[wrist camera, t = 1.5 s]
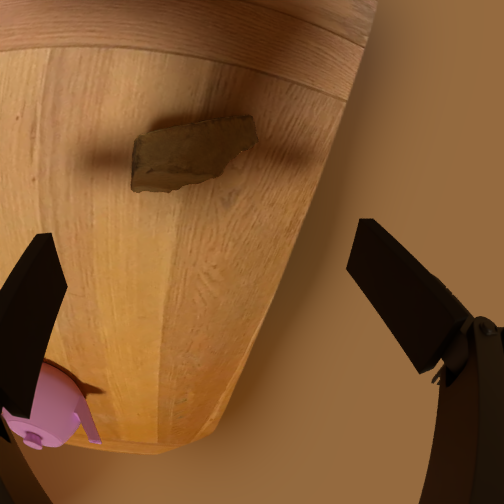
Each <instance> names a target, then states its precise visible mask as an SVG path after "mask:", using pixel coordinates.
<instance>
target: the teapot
mask: <svg viewBox="0 0 504 504" xmlns="http://www.w3.org/2000/svg"><path fill="white" fill-rule="evenodd" d="M2 412H3V414H1V415H2V416H3V417H4V418H5V420H6V422H7V424H8V426H9V427H10V429H11V430H13V431H14V432H15V433H16V434H18V435H19V436H21V437H23V438H24V440H23V442H24V443H25V444H26V445H28V446H29V447H32V448H34V449H42V445H44V446H49V447H58V446H61V445H62V444H64V443H65V442H66V441H67V440H68V439H69V438H70V437H71V436H72V435H73V434H74V433H75V431H76V430H77V429H78V427H79V425H80V424H81V423H82V426H83V428H84V430H85V432H86V434H87V436H88V440H89V441H90V443H97V444H102V442H101V439H100V437H99V434H98V432H97V429H96V427H95V424H94V421H93V418H92V416H91V413H90V410H89V407H88V405H87V402H86V400H85V398H84V396H83V395H82V393H81V391H80V390H79V388H78V387H77V385H76V384H75V383H74V381H73V380H72V379H71V378H70V377H69V376H67V375H66V374H65V373H63V372H62V371H60V370H59V369H57V368H55V367H53V366H51V365H49V364H47V363H44V362H43V363H42V366H41V370H40V374H39V378H38V382H37V386H36V391H35V395H34V400H33V405H32V410H31V415H30V419H25V418H20V417H15V416H12V415H11V414H10V413H9V412H8V411H7V410H6V409H5V408H4V407H3V409H2Z"/></svg>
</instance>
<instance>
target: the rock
mask: <svg viewBox="0 0 504 504" xmlns="http://www.w3.org/2000/svg"><path fill="white" fill-rule="evenodd" d="M257 142H258V137H257V134H256V129H255V124H254V120H253V117H252V116H251V115H245V116H234V117H228V118H218V119H212V120H206V121H201V122H198V123H190V124H186V125H182V126H174V127H170V128H166V129H161V130H156V131H153V132H149V133H146V134H143V135H139V136H138V137H137V138H136V139H135V141H134V148H133V153H132V173H131V190H132V191H133V192H136V193H140V192H142V191H149V192H166V193H170V192H171V191H172V190H178V189H180V188H181V187H182V186H185V185H188V184H198V183H201V182H203V181H206V180H208V179H210V178H216V177H219V176H220V175H222V173H223V170H224V168H225V166H226V165H227V163H228V162H229V161H230V160H231V159H233V158H235V157H236V156H237V155H238V154H239V153H241V151H244V150H248V149H250V148H252V147H253V146H254V145H255V144H256V143H257Z"/></svg>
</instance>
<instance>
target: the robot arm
mask: <svg viewBox="0 0 504 504" xmlns="http://www.w3.org/2000/svg"><path fill="white" fill-rule="evenodd" d="M346 270H347V271H348V272H349V274H350V275H351V276H352V278H353V279H354V280H355V282H356V283H357V284H358V286H359V287H360V289H361V290H362V291H363V293H364V294H365V295H366V297H367V298H368V300H369V301H370V302H371V304H372V305H373V307H374V308H375V309H376V311H377V312H378V314H379V315H380V316H381V318H382V319H383V321H384V322H385V324H386V325H387V327H388V328H389V329H390V331H391V332H392V334H393V335H394V337H395V338H396V339H397V341H398V342H399V344H400V346H401V347H402V349H403V350H404V352H405V353H406V355H407V356H408V357H409V359H410V361H411V362H412V363H413V365H414V367H415V368H416V370H417V371H418V373H419V374H421V373H424V372H426V371H429V370H431V369H433V368H434V367H435V366H436V364H437V363H438V361H439V360H440V359H441V358H442V360H443V361H444V365H443V366H442V367H441V368H440V370H439V371H438V372H437V374H436V375H435V376H434V377H433V379H432V383H434V382H435V381H436V380H437V378H438V377H440V380H439V382H438V383H437V385H440V387H439V399H438V409H437V417H436V425H435V431H434V438H433V444H432V449H431V455H430V460H429V465H428V469H427V474H426V478H425V482H424V486H423V490H422V494H421V498H420V501H419V504H504V327H497V326H496V325H495V324H494V323H493V322H492V321H491V320H489V319H487V318H486V317H482V316H479V317H476V318H474V317H473V316H472V315H471V314H470V313H469V311H468V310H467V309H466V308H465V307H464V306H463V305H462V303H461V302H460V301H459V300H458V299H457V298H456V297H455V296H454V295H452V292H451V291H450V290H449V289H448V288H446V286H445V285H444V284H443V283H442V282H441V281H440V280H439V279H438V278H437V277H435V276H434V275H432V274H431V273H430V272H429V271H428V270H427V269H426V268H425V267H424V266H423V265H422V264H421V263H420V262H418V260H417V259H416V258H414V256H412V254H410V253H409V252H408V251H407V250H406V249H405V248H404V247H403V246H402V245H401V244H400V243H399V242H398V241H397V240H396V239H395V238H394V237H393V236H392V235H391V234H389V233H388V232H387V231H386V230H385V229H384V228H383V227H382V226H381V225H380V224H378V223H377V222H376V221H375V220H374V219H359V223H358V227H357V231H356V234H355V239H354V242H353V246H352V249H351V253H350V257H349V260H348V264H347V267H346ZM67 287H68V286H67V283H66V280H65V277H64V274H63V271H62V268H61V265H60V261H59V258H58V255H57V251H56V248H55V244H54V240H53V237H52V233H43V234H36V236H35V237H34V238H33V240H32V241H31V243H30V244H29V246H28V247H27V248H26V250H25V251H24V253H23V254H22V256H21V257H20V259H19V261H18V262H17V264H16V265H15V267H14V268H13V270H12V272H11V273H10V275H9V277H8V278H7V280H6V282H5V283H4V285H3V287H2V288H1V290H0V504H53V503H52V502H51V500H50V499H49V497H48V496H47V494H46V493H45V491H44V490H43V488H42V487H41V485H40V483H39V482H38V480H37V479H36V477H35V475H34V474H33V472H32V470H31V469H30V467H29V465H28V463H27V462H26V460H25V458H24V456H23V454H22V453H21V451H20V449H19V447H18V445H17V443H16V441H15V439H14V437H13V435H12V433H11V430H10V428H9V426H8V424H7V422H6V420H5V418H4V417H3V416H2V415H1V413H2V409H3V407H4V408H5V409H6V410H7V411H8V412H9V413H10V414H11V415H12V416H15V417H20V418H25V419H30V415H31V410H32V405H33V400H34V395H35V391H36V386H37V382H38V378H39V374H40V370H41V366H42V363H43V359H44V355H45V352H46V349H47V345H48V342H49V339H50V335H51V332H52V329H53V326H54V323H55V320H56V317H57V314H58V312H59V309H60V306H61V303H62V301H63V298H64V295H65V293H66V290H67Z"/></svg>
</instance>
